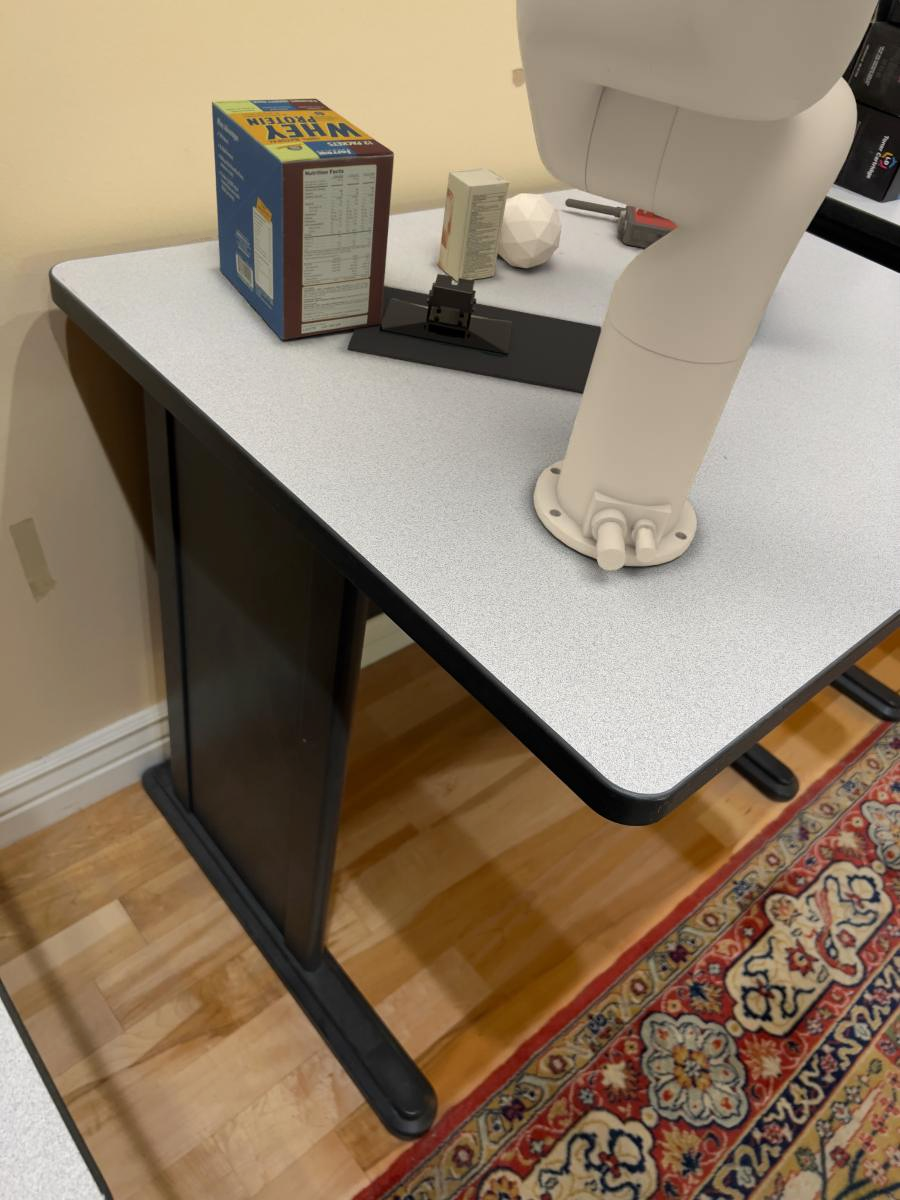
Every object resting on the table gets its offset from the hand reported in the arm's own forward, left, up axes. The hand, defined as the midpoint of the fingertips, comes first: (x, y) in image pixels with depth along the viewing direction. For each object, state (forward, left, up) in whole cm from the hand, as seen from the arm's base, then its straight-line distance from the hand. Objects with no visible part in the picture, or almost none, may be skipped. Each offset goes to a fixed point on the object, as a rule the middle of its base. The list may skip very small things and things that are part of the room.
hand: (798, 68), depth 68 cm
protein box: (+2, +38, -27) cm, 47 cm away
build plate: (+1, +24, -27) cm, 36 cm away
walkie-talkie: (+37, +2, -27) cm, 46 cm away
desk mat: (+1, +20, -27) cm, 34 cm away
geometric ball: (+21, +17, -27) cm, 38 cm away
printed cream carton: (+16, +23, -27) cm, 39 cm away
